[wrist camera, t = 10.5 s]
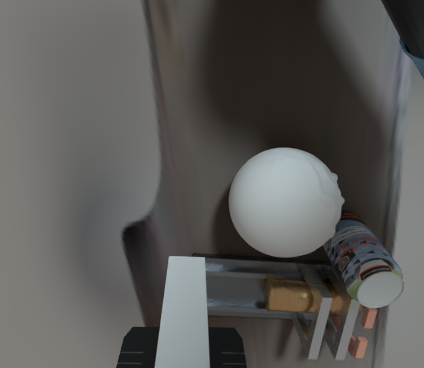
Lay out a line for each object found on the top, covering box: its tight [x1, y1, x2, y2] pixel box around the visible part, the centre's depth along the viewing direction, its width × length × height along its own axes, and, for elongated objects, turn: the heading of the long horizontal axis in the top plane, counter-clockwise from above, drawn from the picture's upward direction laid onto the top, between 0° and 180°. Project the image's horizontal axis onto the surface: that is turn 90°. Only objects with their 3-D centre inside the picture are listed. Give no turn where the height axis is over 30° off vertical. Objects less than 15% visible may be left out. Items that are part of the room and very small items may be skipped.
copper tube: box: [264, 279, 363, 315], centre depth 47 cm, size 12×4×4 cm, turn 84°
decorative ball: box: [229, 148, 345, 257], centre depth 39 cm, size 12×12×12 cm
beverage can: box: [322, 212, 404, 308], centre depth 42 cm, size 6×7×12 cm
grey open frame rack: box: [193, 253, 341, 321], centre depth 49 cm, size 9×23×2 cm, turn 84°
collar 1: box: [292, 264, 333, 359], centre depth 46 cm, size 9×1×7 cm, turn 174°
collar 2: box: [323, 265, 360, 360], centre depth 46 cm, size 9×1×7 cm, turn 174°
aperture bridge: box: [330, 305, 377, 358], centre depth 46 cm, size 8×1×8 cm, turn 174°
